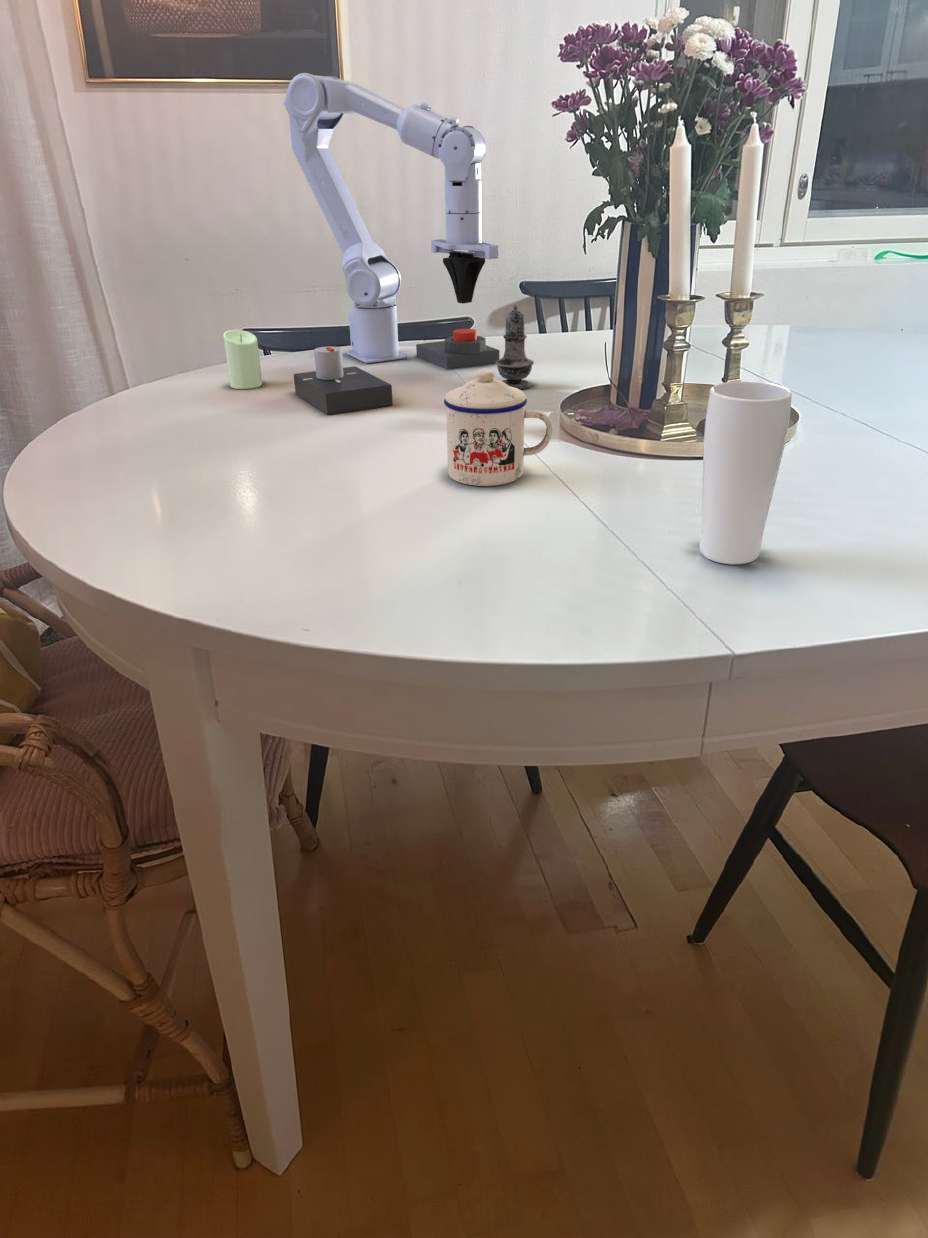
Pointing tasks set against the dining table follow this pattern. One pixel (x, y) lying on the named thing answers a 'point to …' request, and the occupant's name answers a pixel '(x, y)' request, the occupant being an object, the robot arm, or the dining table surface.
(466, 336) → the power button
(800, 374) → the dining table surface
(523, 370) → the salt shaker
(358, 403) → the panel
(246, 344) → the candle
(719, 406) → the drinking glass
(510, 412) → the teacup with lid
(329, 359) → the knob
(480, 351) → the grey button base
